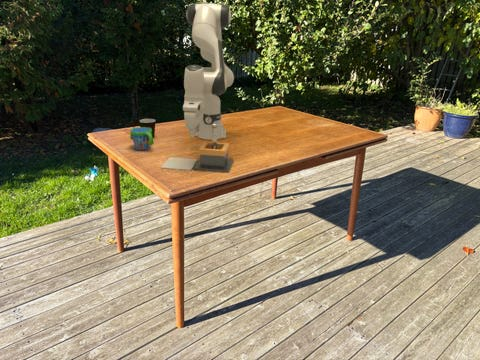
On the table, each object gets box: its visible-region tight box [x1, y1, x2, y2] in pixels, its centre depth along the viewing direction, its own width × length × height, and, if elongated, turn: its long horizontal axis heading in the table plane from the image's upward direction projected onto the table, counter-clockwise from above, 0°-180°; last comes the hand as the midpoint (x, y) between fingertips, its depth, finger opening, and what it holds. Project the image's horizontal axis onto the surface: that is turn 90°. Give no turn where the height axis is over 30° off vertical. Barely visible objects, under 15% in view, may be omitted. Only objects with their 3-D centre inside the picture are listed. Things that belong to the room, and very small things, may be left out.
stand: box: [193, 123, 234, 174], centre depth 170 cm, size 16×16×20 cm
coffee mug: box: [132, 118, 156, 139], centre depth 209 cm, size 12×9×10 cm
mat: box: [160, 156, 199, 172], centre depth 174 cm, size 14×14×1 cm
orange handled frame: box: [189, 141, 230, 156], centre depth 171 cm, size 12×17×2 cm
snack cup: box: [129, 126, 155, 151], centre depth 191 cm, size 16×10×10 cm
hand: (195, 134), depth 169 cm, fingers open, 8 cm apart
